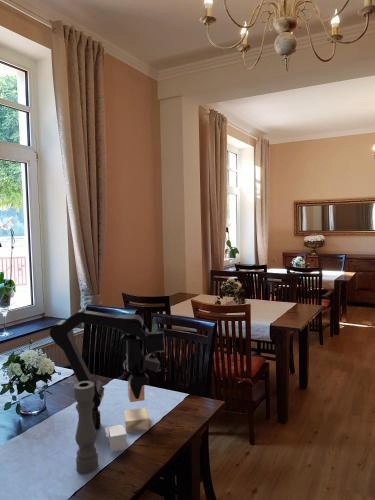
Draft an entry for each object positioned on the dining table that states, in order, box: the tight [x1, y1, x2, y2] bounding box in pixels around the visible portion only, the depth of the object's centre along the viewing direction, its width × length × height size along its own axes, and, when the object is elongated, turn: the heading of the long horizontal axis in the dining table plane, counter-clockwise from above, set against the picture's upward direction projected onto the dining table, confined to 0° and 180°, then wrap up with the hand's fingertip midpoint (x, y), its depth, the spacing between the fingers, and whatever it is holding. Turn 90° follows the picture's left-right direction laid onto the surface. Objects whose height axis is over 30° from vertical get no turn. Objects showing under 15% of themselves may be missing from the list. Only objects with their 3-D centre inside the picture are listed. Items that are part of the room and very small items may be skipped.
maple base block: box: [124, 407, 150, 433], centre depth 139 cm, size 8×8×4 cm
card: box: [104, 424, 123, 438], centre depth 135 cm, size 6×6×1 cm
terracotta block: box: [127, 382, 146, 403], centre depth 138 cm, size 5×5×5 cm
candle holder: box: [73, 381, 99, 475], centre depth 115 cm, size 6×6×25 cm
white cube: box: [108, 425, 128, 453], centre depth 126 cm, size 5×5×5 cm
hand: (136, 395), depth 138 cm, fingers closed on terracotta block, 5 cm apart
